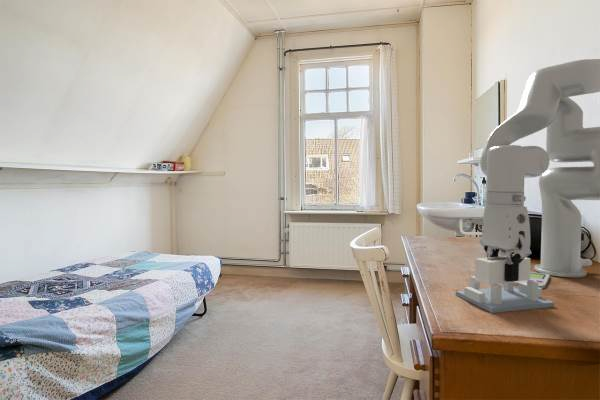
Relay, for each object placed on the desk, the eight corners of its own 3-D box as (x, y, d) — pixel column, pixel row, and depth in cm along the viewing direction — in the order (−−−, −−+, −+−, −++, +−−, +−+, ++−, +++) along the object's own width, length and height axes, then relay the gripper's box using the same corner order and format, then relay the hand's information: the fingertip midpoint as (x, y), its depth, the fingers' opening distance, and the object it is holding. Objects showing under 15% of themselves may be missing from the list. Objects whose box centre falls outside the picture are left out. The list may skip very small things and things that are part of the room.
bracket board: (512, 290, 89) (512, 270, 89) (555, 306, 77) (555, 284, 77) (454, 295, 86) (455, 275, 86) (490, 312, 74) (491, 289, 74)
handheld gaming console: (499, 278, 96) (510, 268, 107) (499, 284, 96) (509, 273, 107) (544, 285, 89) (550, 273, 101) (543, 291, 89) (549, 278, 101)
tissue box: (514, 275, 85) (515, 252, 85) (529, 279, 81) (530, 255, 81) (475, 279, 81) (475, 256, 81) (488, 284, 78) (489, 259, 77)
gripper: (551, 201, 73) (548, 287, 74) (491, 197, 89) (490, 268, 90) (520, 202, 71) (518, 290, 72) (465, 198, 88) (464, 270, 89)
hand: (502, 277), depth 81 cm, fingers closed on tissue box, 4 cm apart
